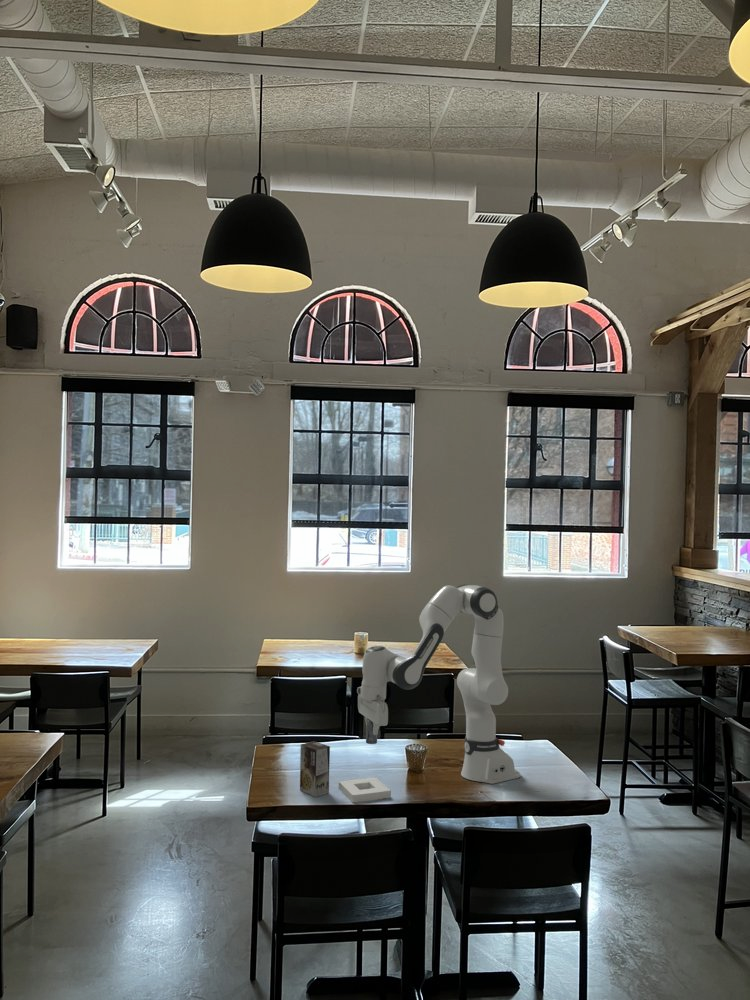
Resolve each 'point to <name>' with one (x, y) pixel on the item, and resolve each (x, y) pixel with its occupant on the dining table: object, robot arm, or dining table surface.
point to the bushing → (370, 733)
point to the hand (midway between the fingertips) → (372, 732)
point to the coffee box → (314, 768)
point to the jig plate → (364, 789)
